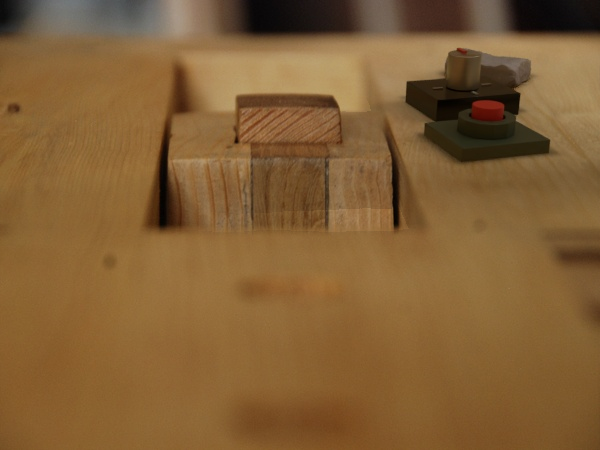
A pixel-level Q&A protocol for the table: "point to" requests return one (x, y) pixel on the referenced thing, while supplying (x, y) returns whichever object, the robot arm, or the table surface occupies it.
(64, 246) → the table surface
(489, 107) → the button
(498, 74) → the stone block
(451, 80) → the dial
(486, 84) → the panel
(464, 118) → the button box
